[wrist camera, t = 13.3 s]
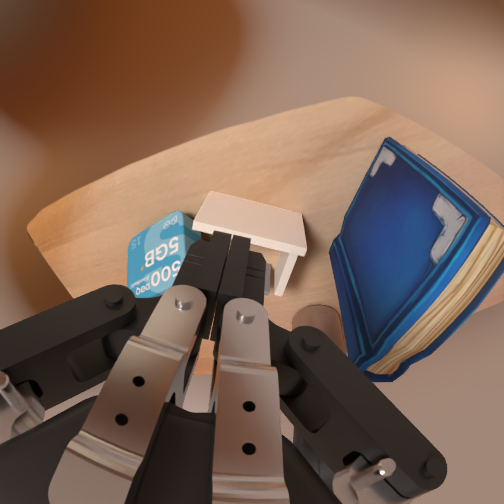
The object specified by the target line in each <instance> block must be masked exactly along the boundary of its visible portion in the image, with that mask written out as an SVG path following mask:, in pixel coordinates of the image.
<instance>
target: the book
mask: <svg viewBox="0 0 504 504" xmlns="http://www.w3.org/2000/svg"><path fill="white" fill-rule="evenodd" d="M329 255H330V260H331V264H332V269H333V274H334V279H335V284H336V289H337V294H338V299H339V304H340V310H341V315H342V321H343V327H344V333H345V339H346V345H347V351H348V358H349V359H350V360H351V361H352V362H353V363H354V364H355V365H356V366H357V367H358V368H359V369H360V370H361V371H362V372H363V373H364V374H365V375H366V376H367V378H368V379H369V380H370V381H371V382H393V381H394V380H396V379H397V378H398V377H400V376H401V375H402V374H404V373H405V372H406V370H407V369H408V368H409V366H410V365H411V364H413V363H415V362H417V361H419V360H421V359H423V358H425V357H427V356H429V355H431V354H432V353H433V352H434V351H435V350H436V349H437V348H438V347H439V346H440V345H442V344H443V343H444V342H445V341H446V340H447V339H448V338H449V337H450V336H451V335H452V334H453V333H454V332H455V331H456V330H457V329H458V328H459V327H460V326H461V325H462V324H463V323H464V322H465V321H466V320H467V318H469V317H470V316H471V314H472V313H473V312H474V311H475V310H476V309H477V308H478V307H479V305H480V304H481V303H482V302H483V300H484V299H485V298H486V296H487V295H488V294H489V292H490V291H491V290H492V288H493V287H494V285H495V284H496V283H497V281H498V280H499V278H500V277H501V275H502V274H503V273H504V225H503V224H502V223H501V222H500V221H499V220H498V219H497V218H496V217H495V216H493V215H492V214H491V213H490V212H489V211H488V210H487V209H486V208H485V207H484V206H483V205H482V204H481V203H479V202H478V201H477V200H476V199H475V198H474V197H473V196H471V195H470V194H469V193H468V192H467V191H466V190H464V189H463V188H462V187H461V186H460V185H458V184H457V183H456V182H455V181H454V180H452V179H451V178H450V177H449V176H447V175H446V174H445V173H443V172H442V171H441V170H440V169H438V168H437V167H436V166H434V165H433V164H432V163H430V162H429V161H427V160H426V159H425V158H423V157H422V156H421V155H419V154H416V153H414V152H413V151H412V150H410V149H409V148H407V147H406V146H404V145H401V144H399V143H398V142H397V141H395V140H394V139H392V138H391V137H388V138H385V139H384V141H383V143H382V145H381V147H380V149H379V151H378V153H377V155H376V157H375V159H374V160H373V162H372V164H371V166H370V168H369V170H368V172H367V174H366V175H365V177H364V179H363V181H362V183H361V185H360V187H359V189H358V191H357V193H356V195H355V197H354V199H353V201H352V203H351V205H350V207H349V209H348V211H347V212H346V214H345V217H344V221H343V225H342V229H341V233H340V234H339V235H338V236H337V237H336V238H335V239H334V240H333V243H332V245H331V248H330V250H329Z"/></svg>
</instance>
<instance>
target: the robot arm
mask: <svg viewBox="0 0 504 504" xmlns="http://www.w3.org/2000/svg"><path fill="white" fill-rule="evenodd" d="M231 237H232V234H229V233H225V232H220V231H215V230H214V232H213V234H212V237H211V240H210V242H208V241H203V240H197V241H196V242H194V243H193V244H192V245H190V247H189V249H188V251H187V254H186V256H185V258H184V261H183V262H182V265H181V267H180V269H179V271H178V274H177V276H176V278H175V280H174V283H173V285H172V287H170V288H169V289H167V290H166V291H165V292H164V294H163V295H161V296H157V297H152V298H135V295H134V293H133V291H132V290H130V289H129V288H127V287H125V286H122V285H115V284H114V285H107V286H104V287H102V288H99V289H97V290H94V291H92V292H89V293H87V294H85V295H82V296H80V297H77V298H75V299H72V300H70V301H68V302H65V303H63V304H60V305H58V306H55V307H53V308H51V309H48V310H46V311H43V312H41V313H39V314H36V315H34V316H32V317H29V318H27V319H24V320H22V321H20V322H18V323H15V324H13V325H10V326H8V327H6V328H4V329H1V330H0V504H410V502H411V501H412V500H413V499H415V498H417V497H419V496H421V495H422V494H425V493H427V492H429V491H431V490H434V489H436V488H438V487H439V486H440V485H441V484H442V483H443V482H444V480H445V478H446V475H447V464H446V461H445V458H444V457H443V455H442V454H441V453H440V452H439V451H438V450H437V449H436V448H435V447H434V446H433V445H432V444H431V443H430V442H429V440H427V438H426V437H425V436H424V435H423V434H422V433H420V431H419V430H418V429H417V428H416V427H415V426H414V425H413V424H412V423H411V422H410V421H409V420H408V419H407V418H406V417H405V416H404V415H403V414H402V413H401V412H400V411H399V410H398V409H397V408H396V407H395V405H394V404H393V403H392V402H391V401H390V400H389V399H388V398H387V397H386V396H385V395H384V394H383V393H382V392H381V391H380V390H379V389H378V388H377V387H376V386H375V385H374V384H373V383H372V382H371V381H370V380H369V379H368V378H367V376H366V375H365V374H364V373H363V372H362V371H361V370H360V369H359V368H358V367H357V366H356V365H355V364H354V363H353V362H352V361H351V360H350V359H349V358H348V357H347V356H346V352H345V346H344V341H343V335H342V330H341V325H340V319H339V316H338V314H337V312H336V311H335V310H334V309H332V308H330V307H327V306H323V305H314V306H309V307H306V308H304V309H302V310H300V311H299V312H298V313H297V314H296V315H295V316H294V318H293V321H292V331H291V332H290V331H288V330H285V329H283V328H281V327H279V326H277V325H275V324H274V323H273V322H271V321H270V320H269V319H268V313H267V311H266V309H265V308H264V307H263V303H264V288H265V271H266V261H265V259H264V257H263V255H262V253H258V252H253V251H249V249H250V242H251V238H247V237H243V236H238V235H233V238H232V242H231ZM230 242H231V246H230ZM229 247H230V250H229ZM228 252H229V254H228ZM215 309H216V310H215ZM214 313H215V316H214ZM213 317H214V321H213ZM212 322H213V327H212V332H211V338H210V340H212V341H215V345H214V350H213V356H214V360H213V369H212V379H211V388H210V399H209V409H208V413H192V412H188V411H186V410H184V409H182V407H183V402H184V398H185V395H186V392H187V389H188V386H189V383H190V380H191V378H192V375H193V372H194V369H195V366H196V363H197V360H198V357H199V352H200V345H201V341H202V338H203V339H209V334H210V330H211V326H212ZM105 380H106V382H105V383H104V385H103V387H102V389H101V391H100V393H99V395H97V396H93V397H90V398H88V399H85V400H83V401H81V402H79V403H78V404H76V405H74V406H72V407H70V408H69V409H67V410H65V411H63V412H61V413H59V414H57V415H56V416H54V417H52V418H50V419H48V420H46V421H45V422H43V419H44V414H45V410H48V409H49V408H52V407H54V406H56V405H58V404H60V403H62V402H64V401H66V400H68V399H70V398H72V397H74V396H76V395H78V394H80V393H82V392H84V391H86V390H88V389H90V388H92V387H94V386H96V385H98V384H99V383H102V382H103V381H105ZM280 409H281V411H282V412H283V413H284V414H285V416H286V417H287V418H288V419H289V420H290V422H291V423H292V424H293V425H294V437H293V443H292V442H291V441H289V440H288V439H287V438H286V437H285V436H283V435H281V419H280V418H281V417H280ZM334 493H335V494H336V495H335V494H334ZM336 496H337V497H338V498H337V497H336Z"/></svg>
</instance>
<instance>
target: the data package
mask: <svg viewBox="0 0 504 504" xmlns="http://www.w3.org/2000/svg"><path fill="white" fill-rule="evenodd" d="M192 226H193V220H192V219H191V218H189V217H188V216H187V215H185V214H184V213H183V212H181V211H175V212H173V213H171V214H170V215H168V216H166V217H165V218H163V219H162V220H160V221H158V222H157V223H155V224H154V225H152V226H150V227H149V228H147V229H146V230H144V231H143V232H141V233H140V234H138V235H136V236H135V237H134V238H133V239H132V240H131V241H130V243H129V247H128V271H127V288H129V289H130V290H132V291H133V293H134V295H135V298H152V297H157V296H161V295H163V294H164V292H165V291H166V290H167V289H169V288H170V287H172V285H173V283H174V280H175V278H176V276H177V274H178V271H179V269H180V267H181V265H182V262H183V261H184V258H185V256H186V254H187V251H188V249H189V247H190V245H192V244H193V243H194V242H196V241H197V240H202V238H201V231H197V230H193V229H192Z"/></svg>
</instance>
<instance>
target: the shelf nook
mask: <svg viewBox="0 0 504 504" xmlns="http://www.w3.org/2000/svg"><path fill="white" fill-rule="evenodd" d="M192 229H193V230H197V231H201V232H205V233H209V234H213V232H214V230H215V231H220V232H225V233H229V234H232V237H231V239H232V238H233V235H238V236H243V237H247V238H251V242H250V244H255V245H259V246H263V247H267V248H271V249H275V250H279V251H280V254H279V257H278V259H277V262H276V265H275V277H274V295H277V296H282V295H283V292H284V290H285V287H286V285H287V282H288V280H289V277H290V275H291V272H292V270H293V267H294V265H295V262H296V260H297V257H298V255H299V256H303V257H304V256H305V253H306V251H307V244H306V237H305V231H304V225H303V219H302V213H298V212H294V211H290V210H287V209H283V208H279V207H275V206H271V205H267V204H264V203H260V202H256V201H252V200H248V199H244V198H239V197H235V196H231V195H227V194H223V193H218V192H214V191H210V192H209V193H208V195H207V197H206V199H205V201H204V202H203V204H202V206H201V208H200V210H199V211H198V213H197V215H196V217H195V219H194V220H193V226H192ZM270 270H271V264H267V263H266V271H265V288H264V295H268V294H269V292H270Z"/></svg>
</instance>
